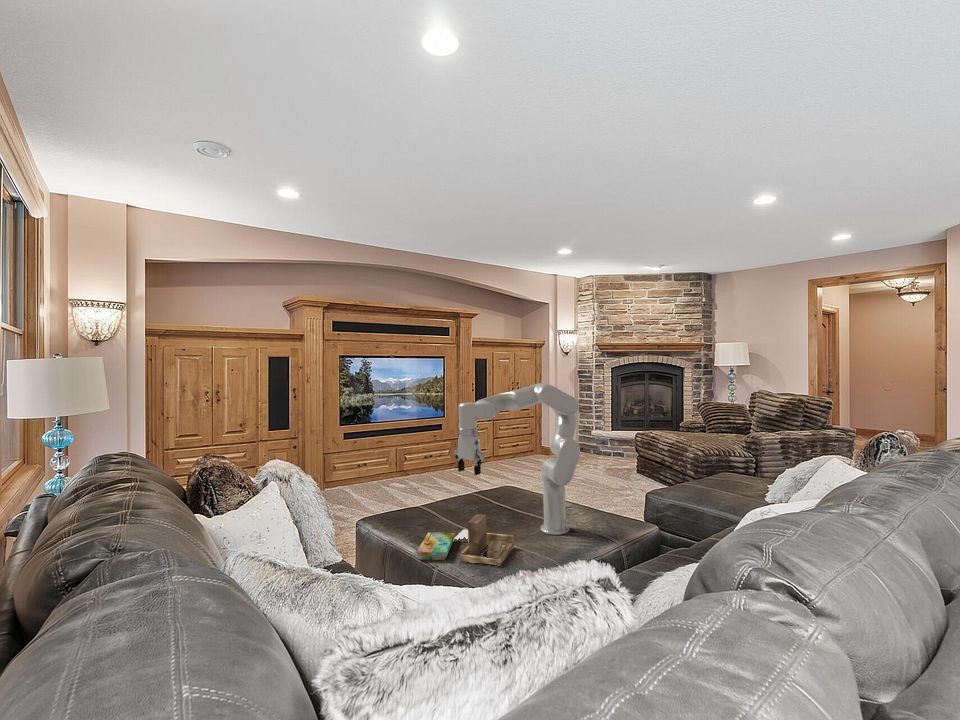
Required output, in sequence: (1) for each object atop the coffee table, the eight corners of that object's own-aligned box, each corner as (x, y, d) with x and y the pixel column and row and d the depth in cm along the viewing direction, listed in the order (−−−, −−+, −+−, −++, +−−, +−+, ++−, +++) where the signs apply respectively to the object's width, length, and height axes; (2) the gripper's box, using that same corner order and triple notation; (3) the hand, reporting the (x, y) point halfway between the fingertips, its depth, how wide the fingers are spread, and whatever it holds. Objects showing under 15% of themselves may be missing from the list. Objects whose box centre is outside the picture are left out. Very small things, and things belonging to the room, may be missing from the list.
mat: (484, 532, 226) (484, 531, 226) (474, 543, 214) (473, 542, 214) (463, 530, 229) (463, 529, 229) (451, 541, 217) (451, 540, 217)
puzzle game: (416, 549, 199) (427, 530, 218) (417, 561, 199) (428, 541, 219) (446, 550, 197) (455, 530, 217) (447, 562, 197) (455, 541, 217)
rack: (513, 547, 208) (513, 535, 208) (499, 566, 191) (499, 553, 191) (476, 543, 214) (476, 531, 214) (459, 561, 197) (459, 548, 197)
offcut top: (501, 546, 204) (501, 541, 204) (499, 552, 198) (499, 547, 198) (491, 545, 205) (491, 540, 205) (488, 552, 198) (488, 547, 198)
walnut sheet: (487, 549, 208) (486, 514, 207) (478, 559, 199) (477, 523, 198) (477, 547, 209) (476, 514, 209) (468, 557, 200) (467, 522, 199)
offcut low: (505, 553, 204) (505, 545, 204) (499, 561, 197) (499, 553, 197) (493, 551, 206) (493, 544, 206) (487, 559, 199) (486, 552, 199)
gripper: (489, 433, 211) (490, 474, 212) (460, 428, 223) (461, 467, 224) (476, 435, 206) (477, 478, 207) (447, 431, 218) (448, 471, 219)
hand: (469, 472), depth 215 cm, fingers open, 9 cm apart
